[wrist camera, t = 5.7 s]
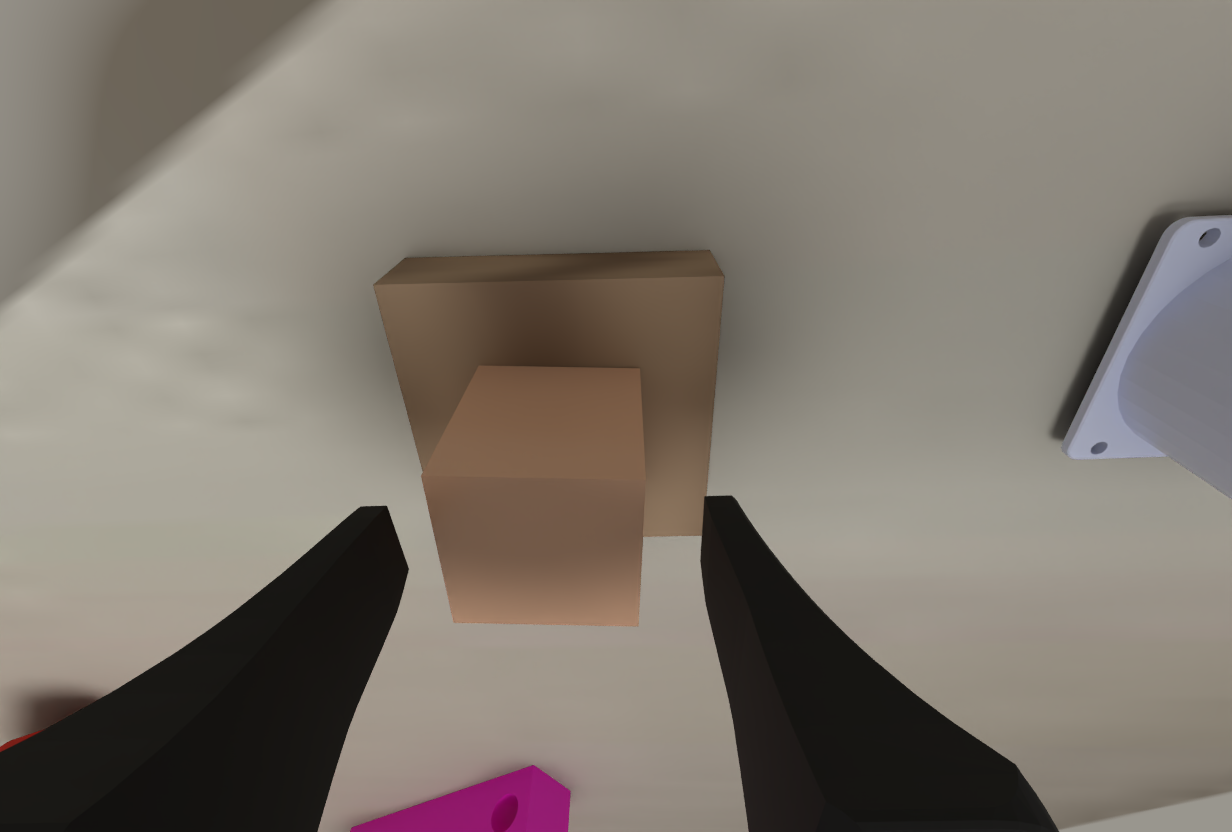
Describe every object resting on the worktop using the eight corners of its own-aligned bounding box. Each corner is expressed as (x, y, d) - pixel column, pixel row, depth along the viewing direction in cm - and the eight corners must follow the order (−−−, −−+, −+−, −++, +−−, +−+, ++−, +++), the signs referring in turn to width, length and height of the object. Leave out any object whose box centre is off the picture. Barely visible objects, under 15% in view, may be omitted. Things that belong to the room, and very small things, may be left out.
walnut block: (707, 246, 16) (724, 276, 14) (692, 480, 21) (703, 535, 18) (410, 253, 16) (373, 285, 14) (461, 485, 21) (441, 540, 19)
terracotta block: (640, 368, 15) (646, 479, 11) (634, 493, 17) (638, 626, 13) (478, 365, 15) (421, 475, 11) (495, 491, 17) (453, 622, 13)
